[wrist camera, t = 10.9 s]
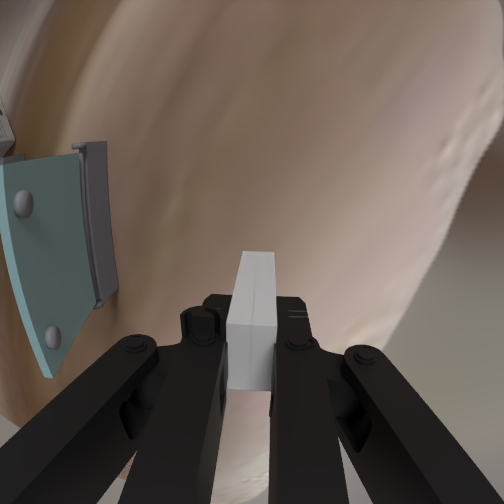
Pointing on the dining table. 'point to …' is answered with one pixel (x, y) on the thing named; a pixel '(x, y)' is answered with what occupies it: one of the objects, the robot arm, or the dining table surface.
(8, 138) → the container
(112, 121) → the dining table surface
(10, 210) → the lid
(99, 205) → the dark grey shallow box
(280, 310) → the robot arm
